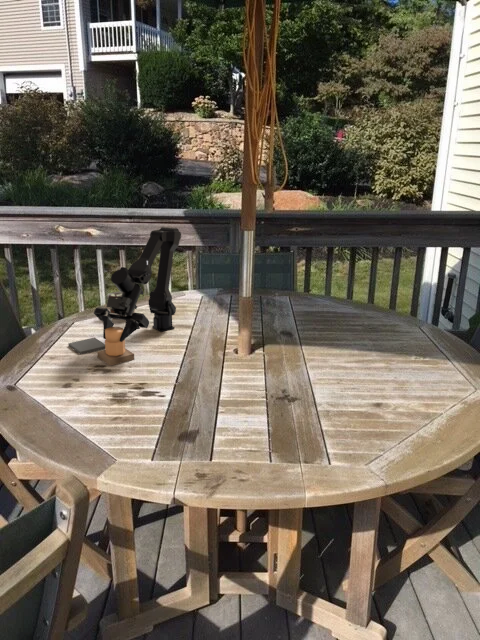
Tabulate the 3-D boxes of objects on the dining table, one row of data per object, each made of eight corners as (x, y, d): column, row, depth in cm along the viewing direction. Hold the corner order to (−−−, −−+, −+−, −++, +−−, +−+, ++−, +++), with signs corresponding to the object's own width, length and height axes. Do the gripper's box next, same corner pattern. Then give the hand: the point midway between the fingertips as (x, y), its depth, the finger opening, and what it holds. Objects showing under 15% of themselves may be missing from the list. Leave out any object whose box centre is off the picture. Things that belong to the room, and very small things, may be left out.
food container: (141, 314, 225) (140, 291, 222) (137, 319, 220) (136, 295, 216) (112, 313, 227) (111, 290, 223) (107, 317, 221) (106, 294, 217)
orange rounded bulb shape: (119, 347, 184) (118, 325, 182) (127, 352, 180) (126, 330, 177) (103, 351, 181) (101, 329, 178) (111, 357, 176) (110, 334, 174)
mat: (94, 339, 197) (94, 337, 196) (107, 348, 189) (107, 345, 189) (68, 345, 190) (68, 343, 190) (80, 354, 183) (80, 351, 183)
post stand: (121, 351, 187) (120, 335, 185) (134, 359, 180) (133, 342, 179) (97, 357, 181) (96, 340, 179) (109, 365, 175) (108, 348, 173)
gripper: (94, 284, 180) (76, 325, 174) (143, 290, 174) (126, 333, 167) (109, 300, 189) (92, 339, 183) (156, 307, 183) (140, 348, 177)
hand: (112, 340), depth 177 cm, fingers closed on orange rounded bulb shape, 6 cm apart
